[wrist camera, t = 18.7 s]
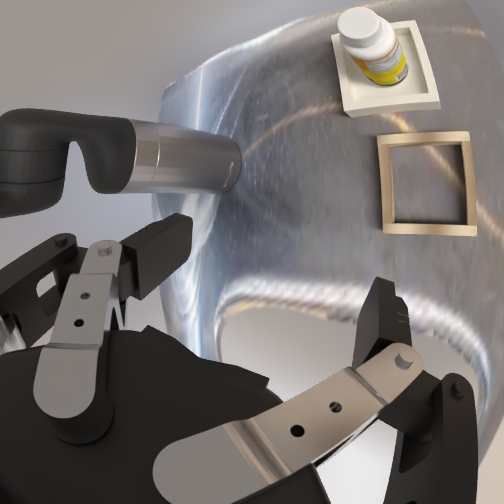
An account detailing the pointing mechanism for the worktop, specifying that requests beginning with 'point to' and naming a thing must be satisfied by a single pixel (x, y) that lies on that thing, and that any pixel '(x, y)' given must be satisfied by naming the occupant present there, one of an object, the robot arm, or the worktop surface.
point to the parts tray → (389, 98)
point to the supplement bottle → (373, 46)
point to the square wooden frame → (387, 182)
